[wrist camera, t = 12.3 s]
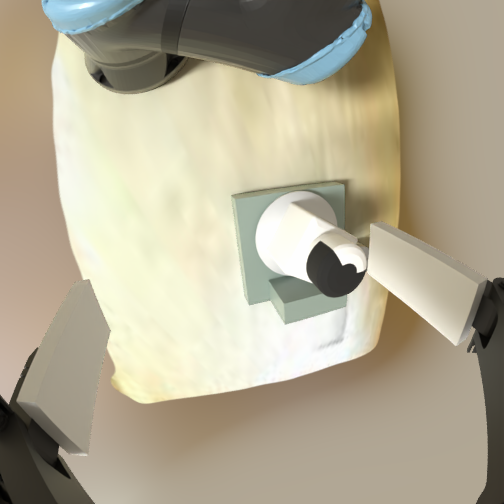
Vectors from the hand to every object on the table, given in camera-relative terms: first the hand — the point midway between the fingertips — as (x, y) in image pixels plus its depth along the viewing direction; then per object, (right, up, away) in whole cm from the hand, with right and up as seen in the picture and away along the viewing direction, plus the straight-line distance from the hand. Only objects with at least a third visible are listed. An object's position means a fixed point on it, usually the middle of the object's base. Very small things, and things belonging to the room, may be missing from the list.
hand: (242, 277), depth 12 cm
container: (+7, +3, +28) cm, 29 cm away
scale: (+6, +3, +33) cm, 33 cm away
